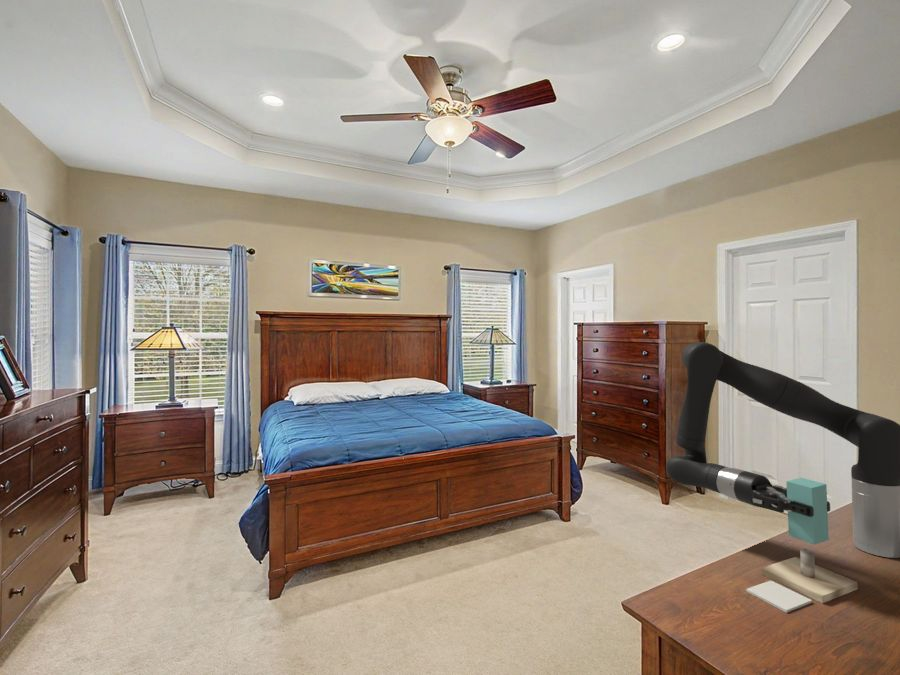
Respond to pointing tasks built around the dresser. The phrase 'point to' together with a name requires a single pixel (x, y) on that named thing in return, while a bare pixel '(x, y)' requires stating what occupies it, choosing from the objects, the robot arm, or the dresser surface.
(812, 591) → the post stand
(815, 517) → the tall teal pillar
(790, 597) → the mat
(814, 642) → the dresser surface
